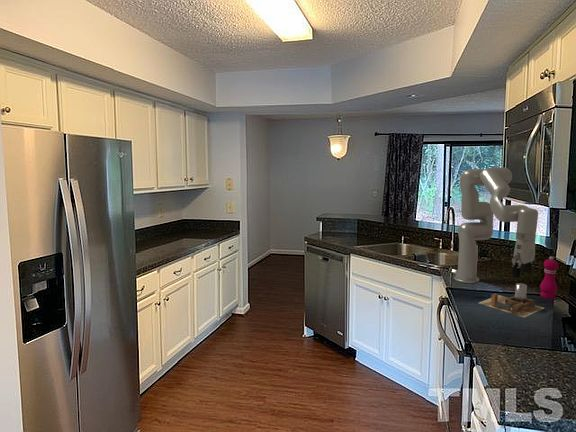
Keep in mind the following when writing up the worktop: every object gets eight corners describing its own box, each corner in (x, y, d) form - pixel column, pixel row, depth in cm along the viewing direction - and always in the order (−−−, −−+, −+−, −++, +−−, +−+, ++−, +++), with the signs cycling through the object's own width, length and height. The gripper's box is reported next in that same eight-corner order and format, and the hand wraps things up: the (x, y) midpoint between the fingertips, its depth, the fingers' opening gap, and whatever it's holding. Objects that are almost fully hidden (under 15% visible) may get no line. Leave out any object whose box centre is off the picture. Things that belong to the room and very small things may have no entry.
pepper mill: (540, 293, 216) (544, 253, 213) (557, 296, 212) (561, 256, 209) (537, 297, 211) (541, 256, 208) (555, 300, 206) (559, 259, 203)
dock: (477, 305, 200) (478, 296, 199) (498, 297, 211) (499, 288, 210) (524, 320, 183) (525, 310, 183) (544, 310, 194) (545, 300, 193)
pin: (490, 305, 196) (491, 294, 195) (493, 304, 198) (494, 293, 197) (508, 310, 190) (509, 299, 189) (511, 309, 191) (512, 298, 190)
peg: (512, 305, 196) (514, 284, 194) (517, 303, 199) (519, 282, 197) (522, 308, 193) (524, 287, 191) (527, 306, 195) (529, 285, 194)
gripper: (524, 241, 182) (520, 280, 186) (544, 235, 192) (539, 272, 196) (506, 237, 188) (502, 275, 192) (526, 232, 198) (522, 268, 202)
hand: (521, 274), depth 194 cm, fingers open, 9 cm apart
